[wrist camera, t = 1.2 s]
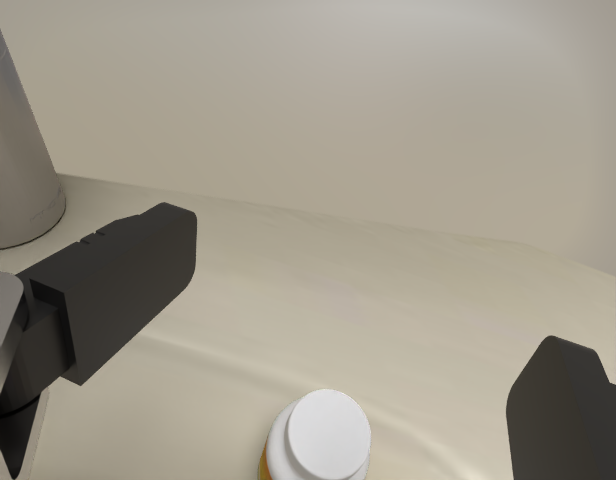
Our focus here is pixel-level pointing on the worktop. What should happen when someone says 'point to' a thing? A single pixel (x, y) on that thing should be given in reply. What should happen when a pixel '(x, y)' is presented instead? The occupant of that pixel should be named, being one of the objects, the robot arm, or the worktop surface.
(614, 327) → the worktop surface
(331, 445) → the supplement bottle
